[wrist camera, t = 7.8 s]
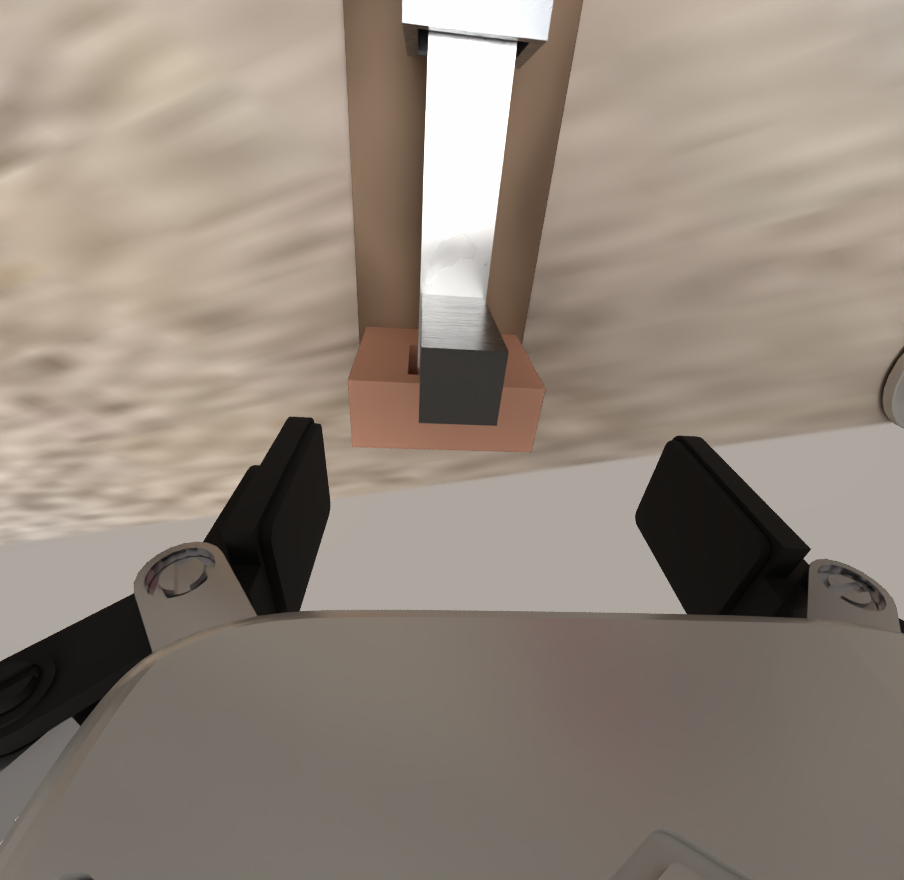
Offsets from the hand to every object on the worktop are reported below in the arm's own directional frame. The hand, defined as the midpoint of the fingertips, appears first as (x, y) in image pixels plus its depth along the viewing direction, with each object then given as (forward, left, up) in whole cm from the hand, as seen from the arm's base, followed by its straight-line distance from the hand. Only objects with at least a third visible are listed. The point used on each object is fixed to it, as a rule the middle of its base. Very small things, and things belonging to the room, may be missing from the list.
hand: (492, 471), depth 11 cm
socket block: (+1, +4, -18) cm, 19 cm away
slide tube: (+1, -4, -15) cm, 15 cm away
